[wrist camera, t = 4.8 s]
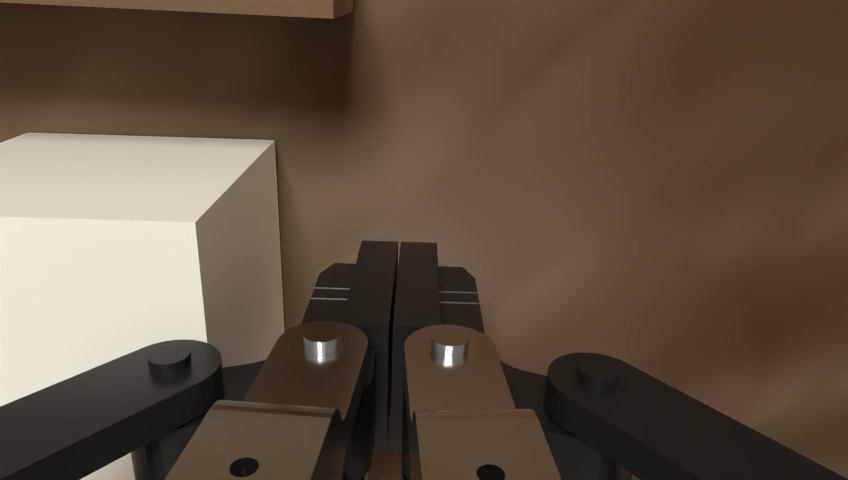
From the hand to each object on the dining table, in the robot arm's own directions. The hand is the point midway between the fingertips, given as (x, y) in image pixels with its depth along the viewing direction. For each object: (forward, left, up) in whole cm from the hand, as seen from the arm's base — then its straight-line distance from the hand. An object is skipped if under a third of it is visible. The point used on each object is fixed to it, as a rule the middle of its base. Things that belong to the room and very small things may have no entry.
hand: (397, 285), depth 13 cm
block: (0, -5, -1) cm, 5 cm away
